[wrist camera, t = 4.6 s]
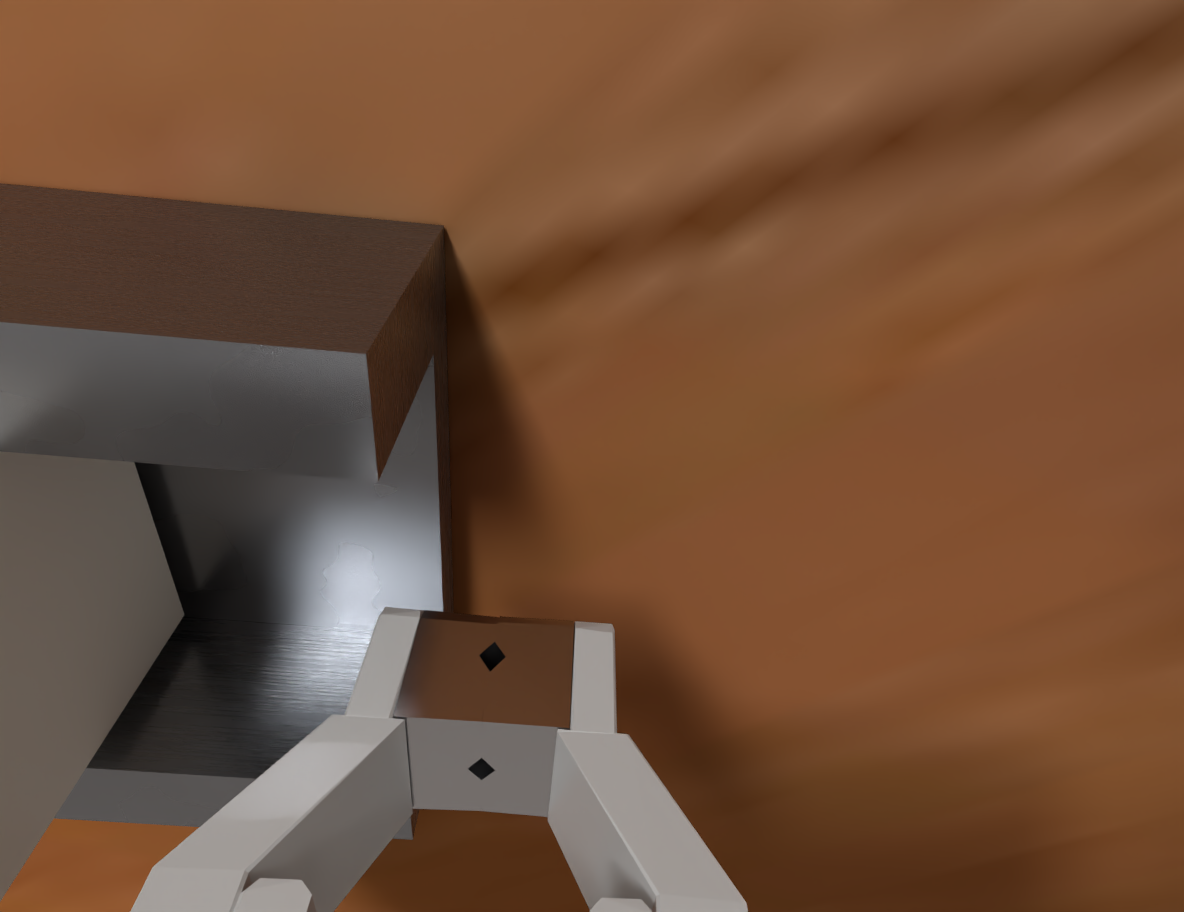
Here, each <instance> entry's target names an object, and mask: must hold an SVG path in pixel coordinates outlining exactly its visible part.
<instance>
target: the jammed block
mask: <svg viewBox="0 0 1184 912" xmlns="http://www.w3.org/2000/svg"><path fill="white" fill-rule="evenodd" d="M183 616H184V612H183V609H182V606H181V603H180V600H179V597H178V594H177V591H176V588H175V585H174V582H173V579H172V576H171V572H170V569H169V566H168V563H167V560H166V557H165V554H164V551H163V548H162V545H161V542H160V539H159V536H158V533H157V530H156V527H155V524H154V521H153V518H152V515H151V512H150V509H149V506H148V503H147V500H146V497H145V494H144V491H143V488H142V485H141V482H140V478H139V475H138V472H137V469H136V466H135V463H134V462H126V461H114V460H101V459H89V458H76V457H64V456H51V455H39V454H26V453H14V452H1V451H0V901H1V900H2V898H3V896H4V895H5V893H6V892H7V890H8V889H9V887H10V886H11V884H12V882H13V881H14V879H15V878H16V876H17V875H18V873H19V871H20V870H21V868H22V867H23V865H24V864H25V862H26V861H27V859H28V857H29V856H30V854H31V853H32V851H33V850H34V848H35V847H36V845H37V843H38V842H39V840H40V839H41V837H42V836H43V834H44V833H45V831H46V829H47V828H48V826H49V825H50V823H51V822H52V820H53V819H54V817H55V815H56V814H57V812H58V811H59V809H60V808H61V806H62V805H63V803H64V801H65V800H66V798H67V797H68V795H69V794H70V792H71V791H72V789H73V787H74V786H75V784H76V783H77V781H78V780H79V778H80V777H81V775H82V773H83V772H84V770H85V769H86V767H87V766H88V764H89V762H90V761H91V759H92V758H93V756H94V755H95V753H96V752H97V750H98V748H99V747H100V745H101V744H102V742H103V741H104V739H105V738H106V736H107V734H108V733H109V731H110V730H111V728H112V727H113V725H114V724H115V722H116V720H117V719H118V717H119V716H120V714H121V713H122V711H123V710H124V708H125V706H126V705H127V703H128V702H129V700H130V699H131V697H132V696H133V694H134V692H135V691H136V689H137V688H138V686H139V685H140V683H141V682H142V680H143V678H144V677H145V675H146V674H147V672H148V671H149V669H150V668H151V666H152V664H153V663H154V661H155V660H156V658H157V657H158V655H159V654H160V652H161V650H162V649H163V647H164V646H165V644H166V643H167V641H168V639H169V638H170V636H171V635H172V633H173V632H174V630H175V629H176V627H177V625H178V624H179V622H180V621H181V619H182V618H183Z"/></svg>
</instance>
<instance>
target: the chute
mask: <svg viewBox="0 0 1184 912" xmlns="http://www.w3.org/2000/svg"><path fill="white" fill-rule="evenodd" d="M0 451H1V452H14V453H26V454H39V455H51V456H64V457H76V458H89V459H101V460H114V461H126V462H134V463H135V466H136V469H137V472H138V475H139V478H140V482H141V485H142V488H143V491H144V494H145V497H146V500H147V503H148V506H149V509H150V512H151V515H152V518H153V521H154V524H155V527H156V530H157V533H158V536H159V539H160V542H161V545H162V548H163V551H164V554H165V557H166V560H167V563H168V566H169V569H170V572H171V576H172V579H173V582H174V585H175V588H176V591H177V594H178V597H179V600H180V603H181V606H182V609H183V612H184V616H183V618H182V619H181V621H180V622H179V624H178V625H177V627H176V629H175V630H174V632H173V633H172V635H171V636H170V638H169V639H168V641H167V643H166V644H165V646H164V647H163V649H162V650H161V652H160V654H159V655H158V657H157V658H156V660H155V661H154V663H153V664H152V666H151V668H150V669H149V671H148V672H147V674H146V675H145V677H144V678H143V680H142V682H141V683H140V685H139V686H138V688H137V689H136V691H135V692H134V694H133V696H132V697H131V699H130V700H129V702H128V703H127V705H126V706H125V708H124V710H123V711H122V713H121V714H120V716H119V717H118V719H117V720H116V722H115V724H114V725H113V727H112V728H111V730H110V731H109V733H108V734H107V736H106V738H105V739H104V741H103V742H102V744H101V745H100V747H99V748H98V750H97V752H96V753H95V755H94V756H93V758H92V759H91V761H90V762H89V764H88V766H87V767H86V769H85V770H84V772H83V773H82V775H81V777H80V778H79V780H78V781H77V783H76V784H75V786H74V787H73V789H72V791H71V792H70V794H69V795H68V797H67V798H66V800H65V801H64V803H63V805H62V806H61V808H60V809H59V811H58V812H57V814H56V815H55V817H54V818H59V819H75V820H92V821H109V822H125V823H142V824H159V825H176V826H192V827H200V826H202V825H203V824H204V823H205V822H206V821H207V820H209V819H210V818H211V817H212V816H213V815H214V814H216V813H217V812H218V811H219V810H220V809H222V808H223V807H224V806H225V805H226V804H227V803H229V802H230V801H231V800H232V799H233V798H234V797H236V796H237V795H238V794H239V793H240V792H241V791H243V790H244V789H245V788H246V787H247V786H249V785H250V784H251V783H252V782H253V781H254V780H256V779H257V778H258V777H259V776H260V775H261V774H263V773H264V772H265V771H266V770H267V769H269V768H270V767H271V766H272V765H273V764H274V763H276V762H277V761H278V760H279V759H280V758H281V757H283V756H284V755H285V754H286V753H287V752H288V751H290V750H291V749H292V748H293V747H294V746H296V745H297V744H298V743H299V742H300V741H301V740H303V739H304V738H305V737H306V736H307V735H308V734H310V733H311V732H312V731H313V730H314V729H315V728H317V727H318V726H319V725H320V724H321V723H323V722H324V721H325V720H326V719H327V718H328V717H330V716H331V715H332V714H338V715H344V714H345V711H346V709H347V706H348V703H349V700H350V697H351V694H352V691H353V688H354V685H355V683H356V680H357V677H358V674H359V671H360V668H361V665H362V662H363V659H364V656H365V654H366V651H367V648H368V645H369V642H370V639H371V636H372V633H373V630H374V627H375V625H376V622H377V619H378V616H379V615H380V613H381V612H382V611H383V609H384V608H385V607H394V608H404V609H415V610H431V611H441V612H451V613H454V608H453V569H452V529H451V489H450V450H449V410H448V370H447V331H446V291H445V252H444V226H442V225H432V224H421V223H411V222H400V221H390V220H379V219H369V218H358V217H348V216H337V215H327V214H316V213H306V212H295V211H285V210H274V209H264V208H253V207H243V206H232V205H222V204H211V203H201V202H190V201H180V200H169V199H159V198H148V197H138V196H127V195H117V194H106V193H96V192H85V191H75V190H64V189H54V188H43V187H33V186H22V185H12V184H1V183H0ZM412 811H413V814H412V815H411V816H410V817H409V819H408V820H407V821H406V822H405V823H404V825H403V826H402V827H401V828H400V830H399V831H398V832H397V833H396V835H395V836H394V837H393V839H410V840H413V836H414V831H415V827H416V822H417V818H418V813H419V809H412Z"/></svg>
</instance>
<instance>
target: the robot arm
mask: <svg viewBox="0 0 1184 912" xmlns="http://www.w3.org/2000/svg"><path fill="white" fill-rule="evenodd" d="M412 809H439V810H469V811H487V812H498V813H509V814H521V815H532V816H543V817H548V822H549V825H550V827H551V829H552V831H553V833H554V835H555V837H556V839H557V841H558V844H559V846H560V848H561V850H562V852H563V854H564V856H565V858H566V861H567V863H568V865H569V867H570V869H571V871H572V873H573V875H574V877H575V880H576V882H577V884H578V886H579V888H580V890H581V892H582V894H583V897H584V899H585V901H586V903H587V905H588V907H589V909H590V912H748V909H747V903H746V901H745V900H744V899H743V897H742V896H741V894H740V893H739V891H738V890H737V889H736V887H735V886H734V884H733V883H732V881H731V880H730V879H729V877H728V876H727V874H726V873H725V871H724V870H723V869H722V867H721V866H720V864H719V863H718V861H717V860H716V858H715V857H714V856H713V854H712V853H711V851H710V850H709V848H708V847H707V846H706V844H705V843H704V841H703V840H702V838H701V837H700V836H699V834H698V833H697V831H696V830H695V828H694V827H693V826H692V824H691V823H690V821H689V820H688V818H687V817H686V816H685V814H684V813H683V811H682V810H681V808H680V807H679V806H678V804H677V803H676V801H675V800H674V798H673V797H672V796H671V794H670V793H669V791H668V790H667V788H666V787H665V786H664V784H663V783H662V781H661V780H660V778H659V777H658V776H657V774H656V773H655V771H654V770H653V768H652V767H651V766H650V764H649V763H648V761H647V760H646V758H645V757H644V756H643V754H642V753H641V751H640V750H639V748H638V747H637V746H636V744H635V743H634V741H633V740H632V738H631V737H630V736H629V734H621V733H617V716H616V668H615V630H614V628H613V625H612V624H607V623H592V622H578V621H575V623H574V621H568V620H552V619H536V618H519V617H503V616H500V617H491V616H481V615H471V614H461V613H451V612H441V611H431V610H415V609H404V608H394V607H385V608H384V609H383V611H382V612H381V613H380V615H379V616H378V619H377V622H376V625H375V627H374V630H373V633H372V636H371V639H370V642H369V645H368V648H367V651H366V654H365V656H364V659H363V662H362V665H361V668H360V671H359V674H358V677H357V680H356V683H355V685H354V688H353V691H352V694H351V697H350V700H349V703H348V706H347V709H346V711H345V714H344V715H338V714H332V715H331V716H330V717H328V718H327V719H326V720H325V721H324V722H323V723H321V724H320V725H319V726H318V727H317V728H315V729H314V730H313V731H312V732H311V733H310V734H308V735H307V736H306V737H305V738H304V739H303V740H301V741H300V742H299V743H298V744H297V745H296V746H294V747H293V748H292V749H291V750H290V751H288V752H287V753H286V754H285V755H284V756H283V757H281V758H280V759H279V760H278V761H277V762H276V763H274V764H273V765H272V766H271V767H270V768H269V769H267V770H266V771H265V772H264V773H263V774H261V775H260V776H259V777H258V778H257V779H256V780H254V781H253V782H252V783H251V784H250V785H249V786H247V787H246V788H245V789H244V790H243V791H241V792H240V793H239V794H238V795H237V796H236V797H234V798H233V799H232V800H231V801H230V802H229V803H227V804H226V805H225V806H224V807H223V808H222V809H220V810H219V811H218V812H217V813H216V814H214V815H213V816H212V817H211V818H210V819H209V820H207V821H206V822H205V823H204V824H203V825H202V826H200V827H199V828H198V829H197V830H196V831H195V832H193V833H192V834H191V835H190V836H189V837H187V838H186V839H185V840H184V841H183V842H182V843H180V844H179V845H178V846H177V847H176V848H175V849H173V850H172V851H171V852H170V853H169V854H168V855H166V856H165V857H164V858H163V859H162V860H160V861H159V862H158V863H157V864H156V865H155V866H153V868H152V870H151V872H150V874H149V876H148V878H147V880H146V882H145V884H144V886H143V888H142V890H141V892H140V894H139V896H138V898H137V900H136V902H135V904H134V906H133V908H132V910H131V911H130V912H333V911H334V910H335V909H336V908H337V907H338V905H339V904H340V903H341V902H342V900H343V899H344V898H345V897H346V895H347V894H348V893H349V892H350V890H351V889H352V888H353V887H354V885H355V884H356V883H357V882H358V880H359V879H360V878H361V877H362V876H363V874H364V873H365V872H366V871H367V869H368V868H369V867H370V866H371V864H372V863H373V862H374V861H375V859H376V858H377V857H378V856H379V854H380V853H381V852H382V851H383V849H384V848H385V847H386V846H387V845H388V843H389V842H390V841H391V840H392V838H393V837H394V836H395V835H396V833H397V832H398V831H399V830H400V828H401V827H402V826H403V825H404V823H405V822H406V821H407V820H408V819H409V817H410V816H411V815H412V814H413V811H412Z"/></svg>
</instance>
